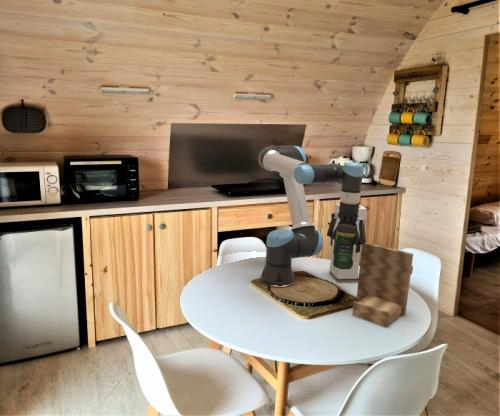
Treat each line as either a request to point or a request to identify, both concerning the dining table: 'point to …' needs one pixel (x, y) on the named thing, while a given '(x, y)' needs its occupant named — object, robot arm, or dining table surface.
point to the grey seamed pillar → (352, 273)
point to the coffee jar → (344, 246)
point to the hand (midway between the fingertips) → (343, 256)
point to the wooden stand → (382, 284)
